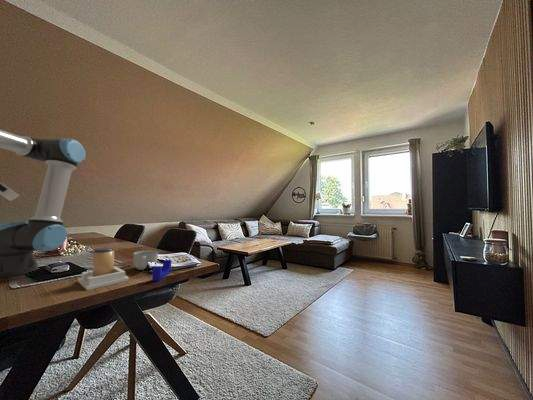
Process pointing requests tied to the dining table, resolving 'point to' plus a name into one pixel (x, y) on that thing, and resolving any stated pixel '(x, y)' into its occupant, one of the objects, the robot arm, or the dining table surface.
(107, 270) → the tan cylindrical piece
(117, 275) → the holder
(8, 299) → the dining table surface
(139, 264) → the teacup
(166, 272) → the cable clip
